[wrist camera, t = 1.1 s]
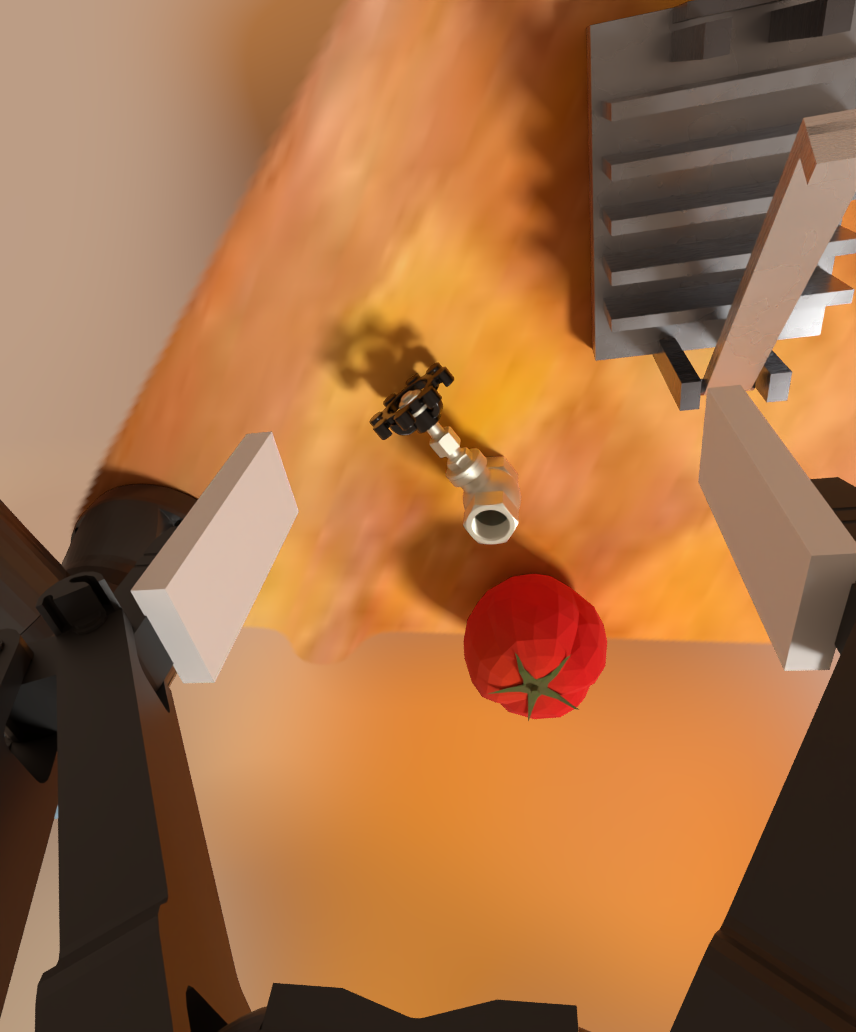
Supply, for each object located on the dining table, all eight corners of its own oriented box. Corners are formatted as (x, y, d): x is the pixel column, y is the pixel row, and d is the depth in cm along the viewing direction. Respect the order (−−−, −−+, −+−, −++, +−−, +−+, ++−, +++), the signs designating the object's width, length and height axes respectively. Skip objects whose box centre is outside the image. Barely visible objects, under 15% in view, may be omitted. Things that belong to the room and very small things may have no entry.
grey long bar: (749, 379, 35) (756, 413, 34) (696, 384, 35) (701, 418, 35) (892, 99, 20) (910, 148, 19) (795, 115, 20) (809, 165, 19)
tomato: (608, 641, 56) (624, 740, 48) (485, 655, 59) (480, 750, 51) (589, 539, 50) (603, 632, 42) (452, 560, 53) (440, 651, 45)
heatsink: (805, 336, 39) (866, 392, 32) (592, 360, 42) (608, 417, 35) (870, -33, 29) (980, -66, 22) (586, 27, 32) (606, 15, 25)
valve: (544, 473, 47) (449, 348, 42) (548, 524, 42) (440, 388, 37) (474, 512, 50) (377, 400, 45) (469, 565, 45) (359, 444, 40)
